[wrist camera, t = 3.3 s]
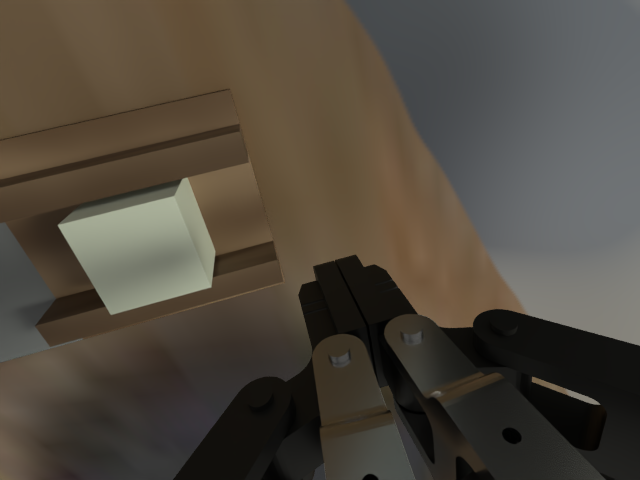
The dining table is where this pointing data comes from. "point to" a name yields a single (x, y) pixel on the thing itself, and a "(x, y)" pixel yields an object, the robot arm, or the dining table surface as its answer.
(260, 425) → the robot arm
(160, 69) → the dining table surface
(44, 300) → the pad
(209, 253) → the pale block
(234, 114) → the chute
